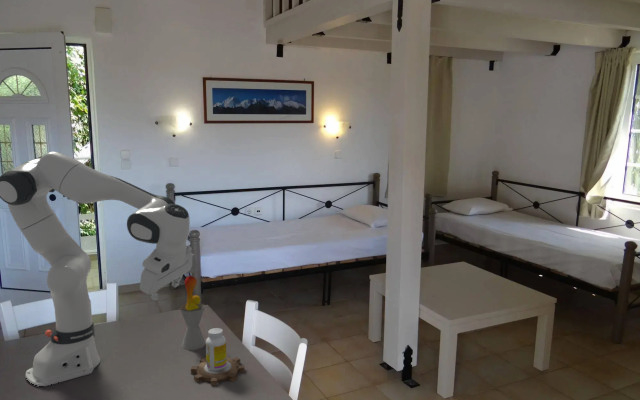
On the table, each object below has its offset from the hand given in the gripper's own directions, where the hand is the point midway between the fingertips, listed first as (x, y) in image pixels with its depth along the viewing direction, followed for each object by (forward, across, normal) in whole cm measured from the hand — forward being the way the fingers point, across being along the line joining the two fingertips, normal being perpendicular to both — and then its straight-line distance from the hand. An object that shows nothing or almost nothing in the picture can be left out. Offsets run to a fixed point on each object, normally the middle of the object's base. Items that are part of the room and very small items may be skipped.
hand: (165, 292), depth 158 cm
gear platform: (+26, -7, +20) cm, 34 cm away
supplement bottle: (+25, -7, +19) cm, 32 cm away
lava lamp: (+34, -20, +1) cm, 39 cm away
